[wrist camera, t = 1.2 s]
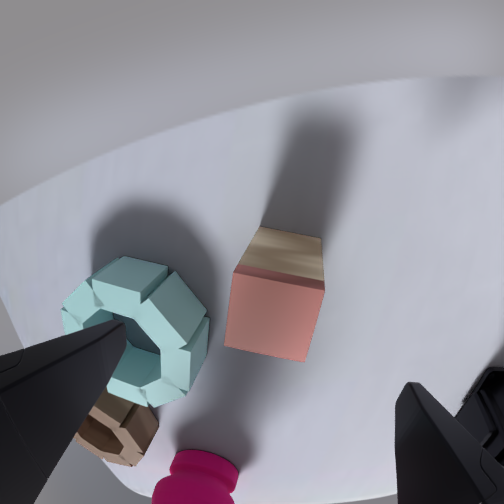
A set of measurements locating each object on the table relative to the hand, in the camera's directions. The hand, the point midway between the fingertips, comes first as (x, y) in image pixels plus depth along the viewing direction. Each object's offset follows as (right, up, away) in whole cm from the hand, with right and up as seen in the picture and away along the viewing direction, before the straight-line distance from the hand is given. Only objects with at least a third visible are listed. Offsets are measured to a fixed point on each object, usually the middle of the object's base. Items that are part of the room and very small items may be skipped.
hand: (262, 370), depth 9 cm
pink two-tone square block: (+1, +3, +8) cm, 9 cm away
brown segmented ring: (-13, -10, +16) cm, 23 cm away
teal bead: (-7, -1, +11) cm, 13 cm away
